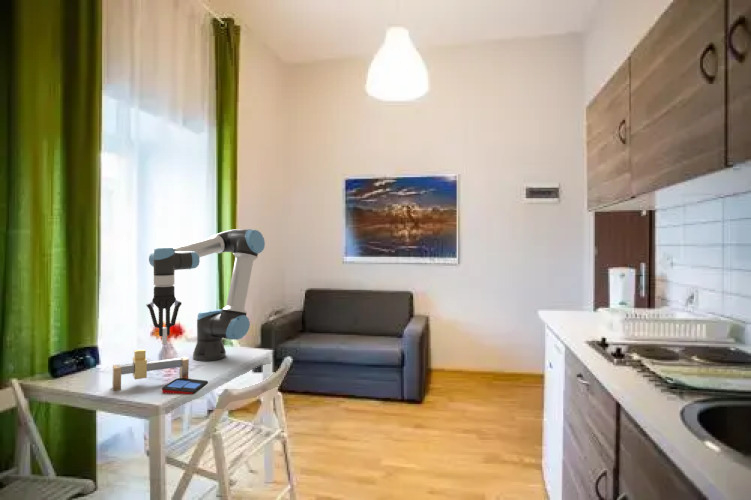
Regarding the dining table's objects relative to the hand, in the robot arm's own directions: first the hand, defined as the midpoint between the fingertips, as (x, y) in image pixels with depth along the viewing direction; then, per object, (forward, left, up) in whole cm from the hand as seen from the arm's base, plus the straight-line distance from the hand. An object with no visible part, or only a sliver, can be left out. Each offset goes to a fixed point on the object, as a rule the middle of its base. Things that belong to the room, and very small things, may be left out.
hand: (164, 343), depth 177 cm
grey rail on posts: (+5, 0, -15) cm, 16 cm away
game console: (-5, +12, -16) cm, 21 cm away
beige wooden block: (+9, 0, -12) cm, 15 cm away
